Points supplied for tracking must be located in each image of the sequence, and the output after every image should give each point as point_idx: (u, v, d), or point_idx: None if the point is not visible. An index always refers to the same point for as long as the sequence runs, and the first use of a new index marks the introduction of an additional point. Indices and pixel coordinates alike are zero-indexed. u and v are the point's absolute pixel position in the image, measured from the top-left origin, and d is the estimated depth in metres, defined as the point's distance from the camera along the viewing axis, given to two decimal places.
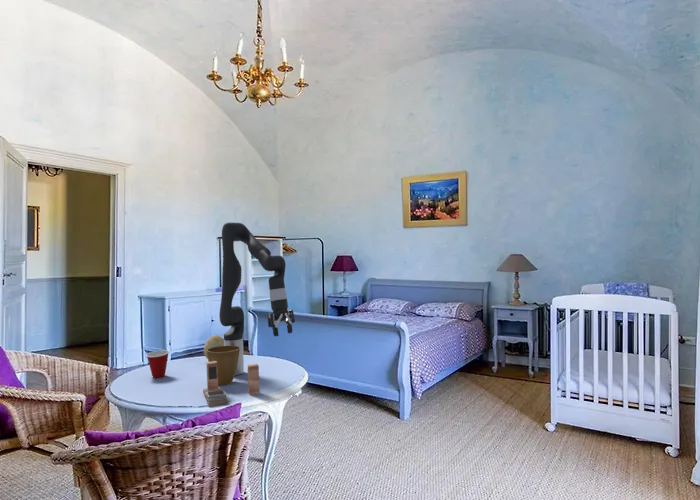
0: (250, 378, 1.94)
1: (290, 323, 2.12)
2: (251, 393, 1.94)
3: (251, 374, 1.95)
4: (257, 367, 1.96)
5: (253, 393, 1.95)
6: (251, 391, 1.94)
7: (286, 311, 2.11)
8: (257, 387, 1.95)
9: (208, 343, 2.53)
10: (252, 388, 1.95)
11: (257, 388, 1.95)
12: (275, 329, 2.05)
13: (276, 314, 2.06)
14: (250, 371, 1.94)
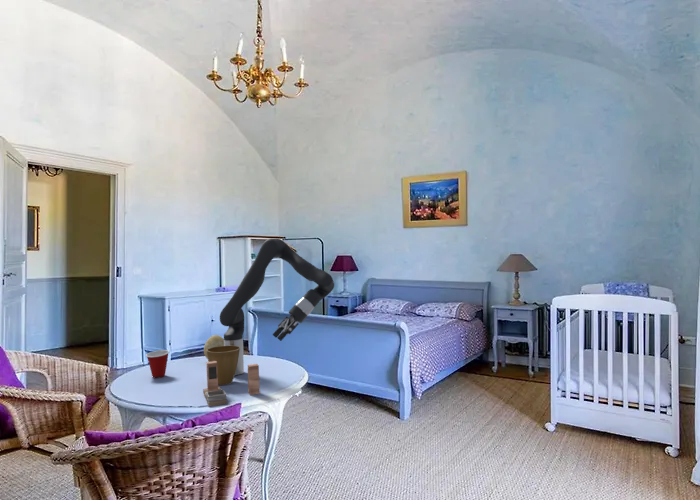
0: (250, 378, 1.94)
1: (282, 330, 2.06)
2: (251, 393, 1.94)
3: (251, 374, 1.94)
4: (257, 367, 1.96)
5: (253, 393, 1.95)
6: (251, 391, 1.94)
7: None
8: (257, 387, 1.95)
9: (208, 343, 2.53)
10: (252, 388, 1.95)
11: (257, 388, 1.95)
12: (285, 335, 1.97)
13: None
14: (250, 371, 1.94)
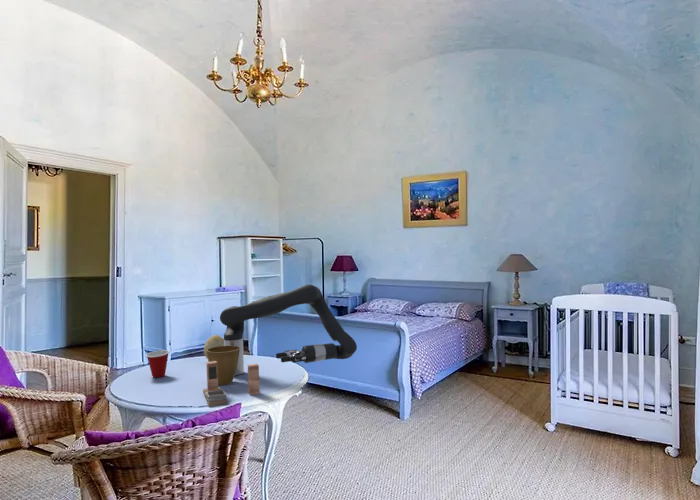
0: (250, 378, 1.94)
1: None
2: (251, 393, 1.94)
3: (251, 374, 1.95)
4: (257, 367, 1.96)
5: (253, 393, 1.95)
6: (251, 391, 1.94)
7: None
8: (257, 387, 1.95)
9: (208, 343, 2.53)
10: (252, 388, 1.95)
11: (257, 388, 1.95)
12: (288, 360, 1.98)
13: None
14: (250, 371, 1.94)
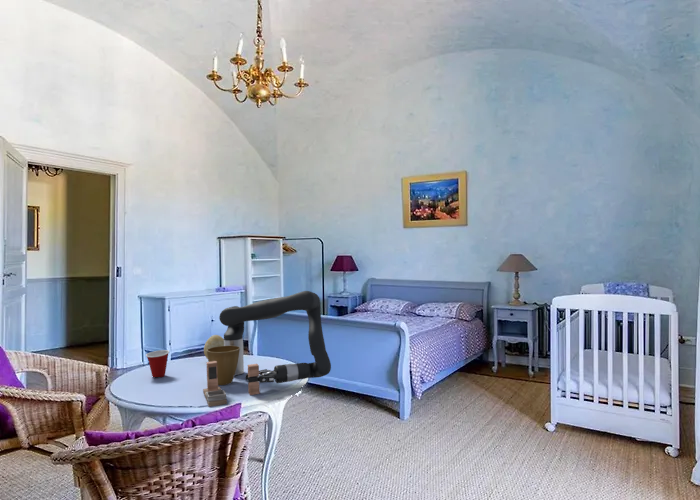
0: None
1: None
2: (251, 393, 1.94)
3: (251, 374, 1.94)
4: (257, 367, 1.95)
5: (253, 393, 1.95)
6: (251, 391, 1.94)
7: None
8: (257, 387, 1.95)
9: (208, 343, 2.53)
10: (252, 388, 1.95)
11: (257, 388, 1.95)
12: (255, 380, 1.94)
13: None
14: (250, 371, 1.94)
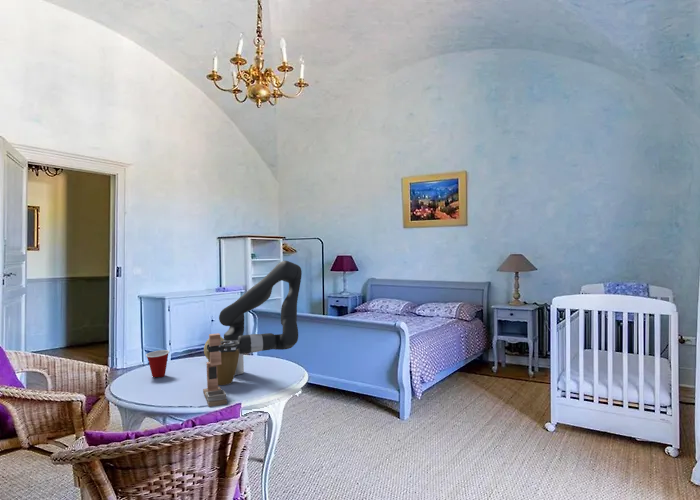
0: None
1: None
2: (212, 363, 1.85)
3: (212, 344, 1.85)
4: (219, 336, 1.86)
5: (215, 363, 1.85)
6: (212, 361, 1.85)
7: None
8: (219, 358, 1.86)
9: (208, 343, 2.53)
10: (213, 358, 1.85)
11: (219, 358, 1.86)
12: (216, 350, 1.84)
13: None
14: (211, 340, 1.85)
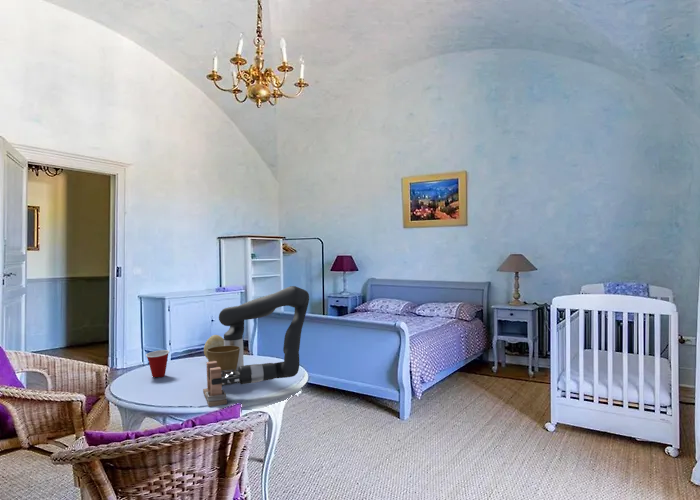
0: None
1: (220, 378, 1.92)
2: None
3: (213, 378, 1.85)
4: (219, 371, 1.86)
5: None
6: None
7: None
8: (220, 392, 1.86)
9: (208, 343, 2.53)
10: (214, 393, 1.85)
11: (219, 393, 1.85)
12: (220, 383, 1.83)
13: None
14: (212, 375, 1.84)
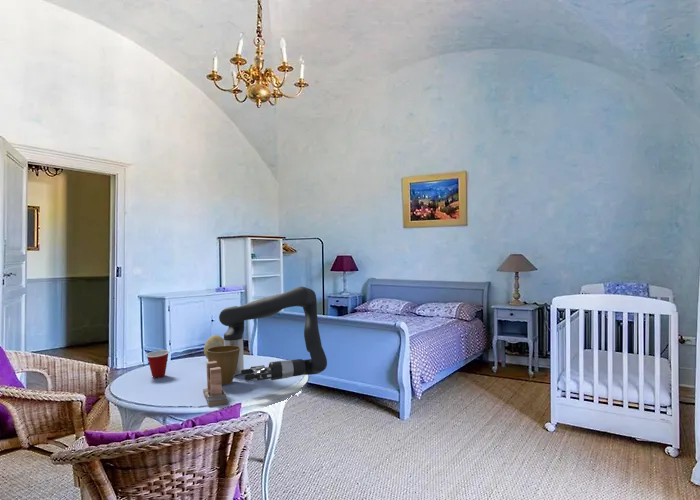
0: (212, 382, 1.84)
1: (251, 374, 1.97)
2: None
3: (213, 378, 1.85)
4: (219, 371, 1.86)
5: None
6: None
7: None
8: (220, 392, 1.86)
9: (208, 343, 2.53)
10: (214, 393, 1.85)
11: (219, 393, 1.85)
12: (252, 378, 1.88)
13: None
14: (212, 375, 1.84)
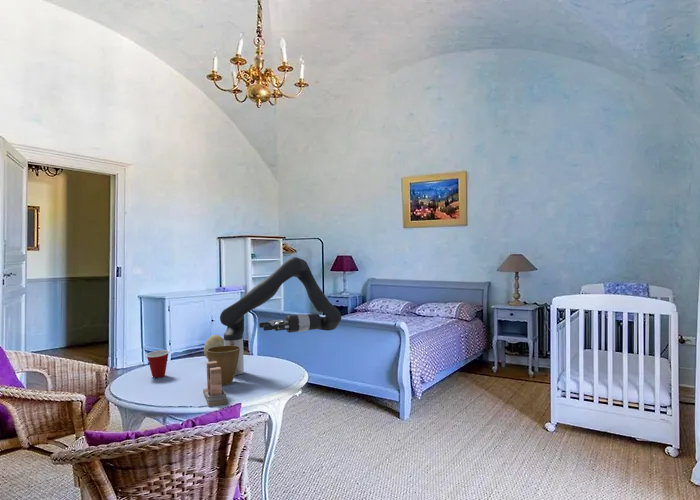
0: (212, 382, 1.84)
1: None
2: None
3: (213, 378, 1.85)
4: (219, 371, 1.86)
5: None
6: None
7: None
8: (220, 392, 1.86)
9: (208, 343, 2.53)
10: (214, 393, 1.85)
11: (219, 393, 1.85)
12: (271, 329, 1.95)
13: None
14: (212, 375, 1.84)
